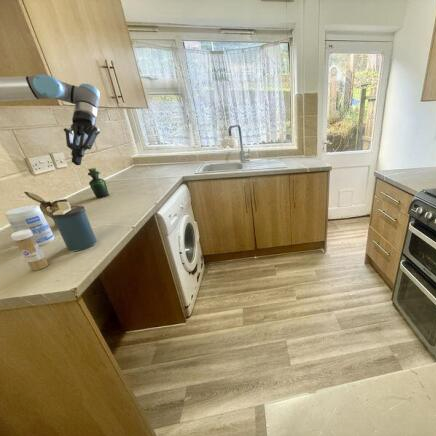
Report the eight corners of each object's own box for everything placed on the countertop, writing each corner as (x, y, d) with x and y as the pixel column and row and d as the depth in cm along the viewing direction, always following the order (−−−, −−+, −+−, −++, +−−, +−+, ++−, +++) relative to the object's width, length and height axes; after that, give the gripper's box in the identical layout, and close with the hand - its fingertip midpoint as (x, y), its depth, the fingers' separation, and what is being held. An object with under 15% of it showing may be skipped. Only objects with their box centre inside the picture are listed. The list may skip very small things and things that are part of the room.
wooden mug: (45, 225, 115) (26, 189, 108) (81, 217, 122) (65, 183, 115) (41, 232, 108) (21, 194, 101) (79, 223, 115) (63, 187, 108)
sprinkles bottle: (28, 272, 80) (7, 236, 75) (35, 265, 84) (15, 230, 79) (46, 268, 82) (26, 233, 76) (51, 261, 86) (33, 227, 80)
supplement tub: (45, 246, 96) (27, 212, 89) (17, 250, 94) (-4, 216, 88) (60, 235, 104) (44, 203, 98) (35, 238, 102) (17, 206, 96)
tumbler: (77, 241, 99) (61, 206, 93) (102, 239, 101) (89, 204, 95) (61, 254, 91) (43, 216, 84) (89, 251, 92) (74, 213, 86)
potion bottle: (94, 197, 154) (83, 168, 146) (109, 193, 159) (99, 166, 151) (95, 200, 148) (83, 170, 141) (111, 196, 153) (100, 168, 145)
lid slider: (61, 210, 89) (58, 202, 87) (71, 209, 89) (68, 201, 88) (53, 215, 85) (49, 206, 83) (63, 214, 85) (59, 205, 84)
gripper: (106, 121, 109) (99, 167, 101) (75, 123, 107) (65, 169, 99) (95, 109, 102) (87, 156, 94) (61, 110, 100) (49, 159, 92)
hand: (76, 163), depth 97 cm, fingers closed
